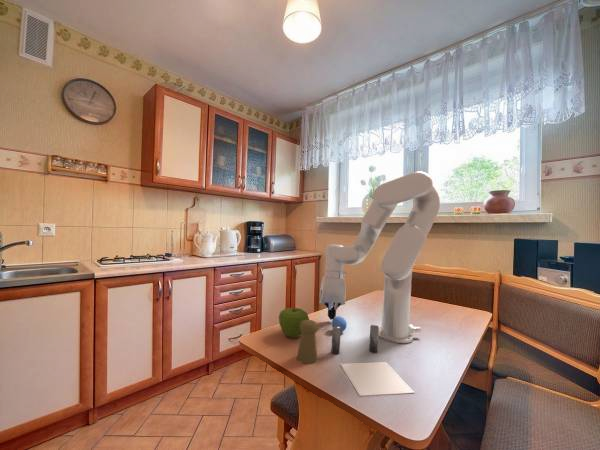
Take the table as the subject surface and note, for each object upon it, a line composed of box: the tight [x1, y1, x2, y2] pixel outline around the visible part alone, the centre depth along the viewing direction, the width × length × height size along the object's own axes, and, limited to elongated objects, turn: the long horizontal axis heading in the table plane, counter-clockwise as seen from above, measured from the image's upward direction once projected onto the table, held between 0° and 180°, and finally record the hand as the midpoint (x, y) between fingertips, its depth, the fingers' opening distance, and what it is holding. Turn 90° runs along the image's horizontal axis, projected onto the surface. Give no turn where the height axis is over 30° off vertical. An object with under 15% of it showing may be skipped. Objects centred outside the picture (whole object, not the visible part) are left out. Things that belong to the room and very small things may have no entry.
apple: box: [278, 307, 310, 339], centre depth 92 cm, size 11×10×10 cm
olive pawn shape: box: [296, 319, 318, 365], centre depth 77 cm, size 6×6×11 cm
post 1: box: [330, 325, 342, 355], centre depth 81 cm, size 3×3×8 cm
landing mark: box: [340, 361, 415, 397], centre depth 69 cm, size 14×14×1 cm
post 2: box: [368, 324, 380, 354], centre depth 83 cm, size 3×3×8 cm
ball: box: [331, 315, 348, 333], centre depth 98 cm, size 6×6×6 cm
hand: (331, 318), depth 108 cm, fingers closed
